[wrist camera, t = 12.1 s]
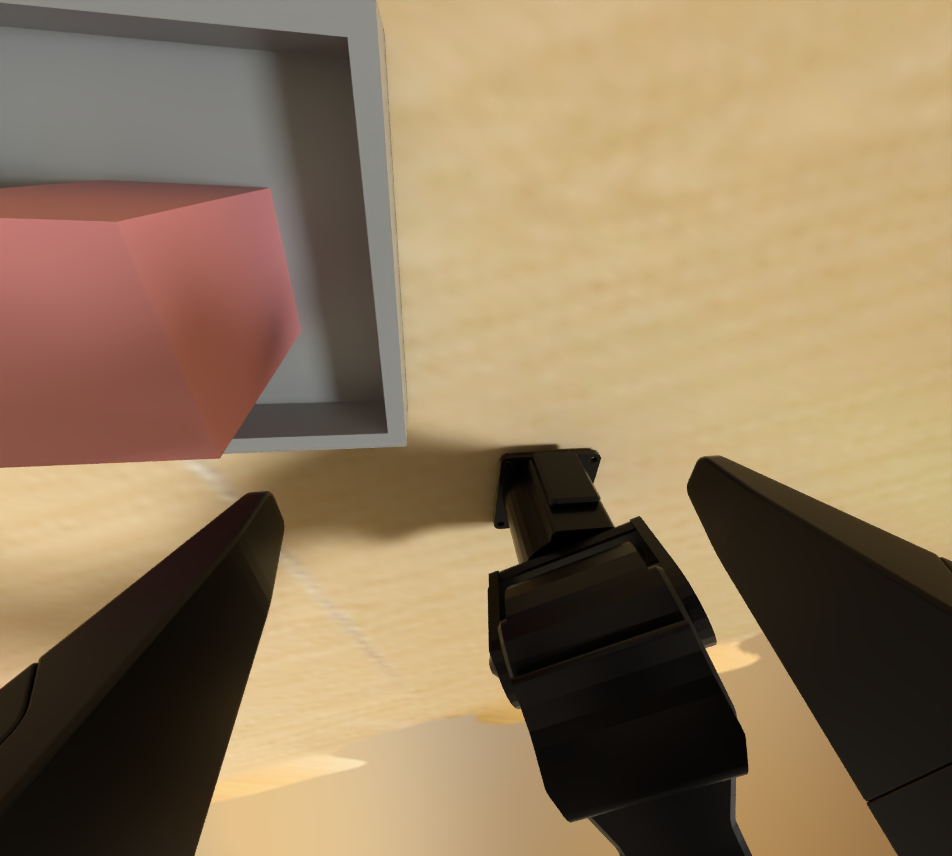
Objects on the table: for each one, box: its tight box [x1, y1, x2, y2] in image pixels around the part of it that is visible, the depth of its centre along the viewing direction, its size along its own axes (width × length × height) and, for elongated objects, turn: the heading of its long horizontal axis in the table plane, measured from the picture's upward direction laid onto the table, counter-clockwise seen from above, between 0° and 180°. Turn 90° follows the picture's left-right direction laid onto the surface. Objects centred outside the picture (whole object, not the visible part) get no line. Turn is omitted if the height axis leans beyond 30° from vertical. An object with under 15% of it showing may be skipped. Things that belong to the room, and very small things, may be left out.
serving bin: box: [0, 0, 408, 454], centre depth 14 cm, size 15×15×4 cm
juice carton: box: [0, 180, 302, 468], centre depth 12 cm, size 6×6×9 cm
